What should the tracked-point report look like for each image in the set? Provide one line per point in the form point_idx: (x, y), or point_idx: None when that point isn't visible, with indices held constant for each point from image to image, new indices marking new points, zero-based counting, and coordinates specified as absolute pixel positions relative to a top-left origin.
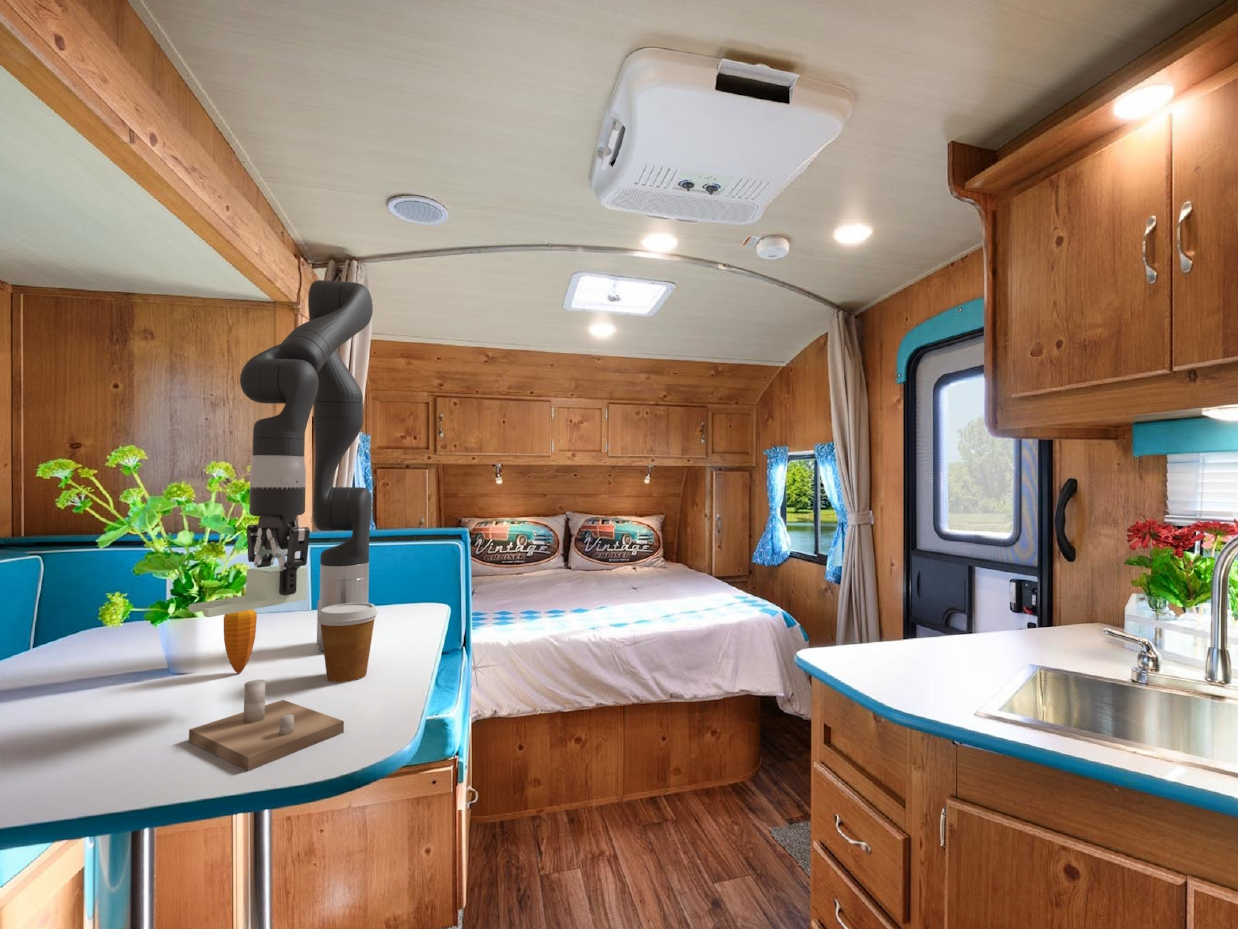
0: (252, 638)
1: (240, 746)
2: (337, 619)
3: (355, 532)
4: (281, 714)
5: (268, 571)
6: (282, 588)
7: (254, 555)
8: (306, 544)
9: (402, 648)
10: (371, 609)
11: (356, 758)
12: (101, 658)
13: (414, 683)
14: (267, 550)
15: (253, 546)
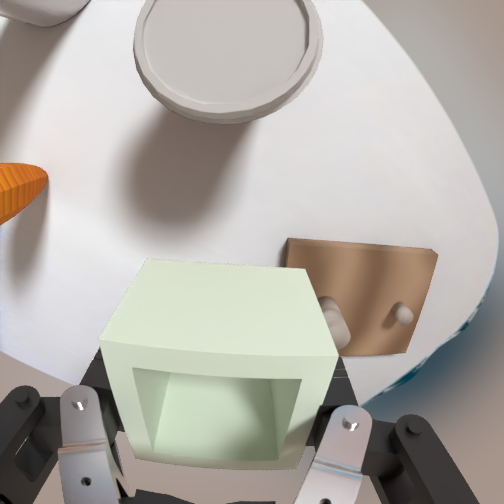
0: (20, 173)
1: (377, 347)
2: (275, 106)
3: None
4: (345, 280)
5: (147, 404)
6: None
7: (53, 453)
8: (467, 498)
9: None
10: (311, 3)
11: (474, 282)
12: None
13: (388, 54)
14: (125, 494)
15: (34, 485)
